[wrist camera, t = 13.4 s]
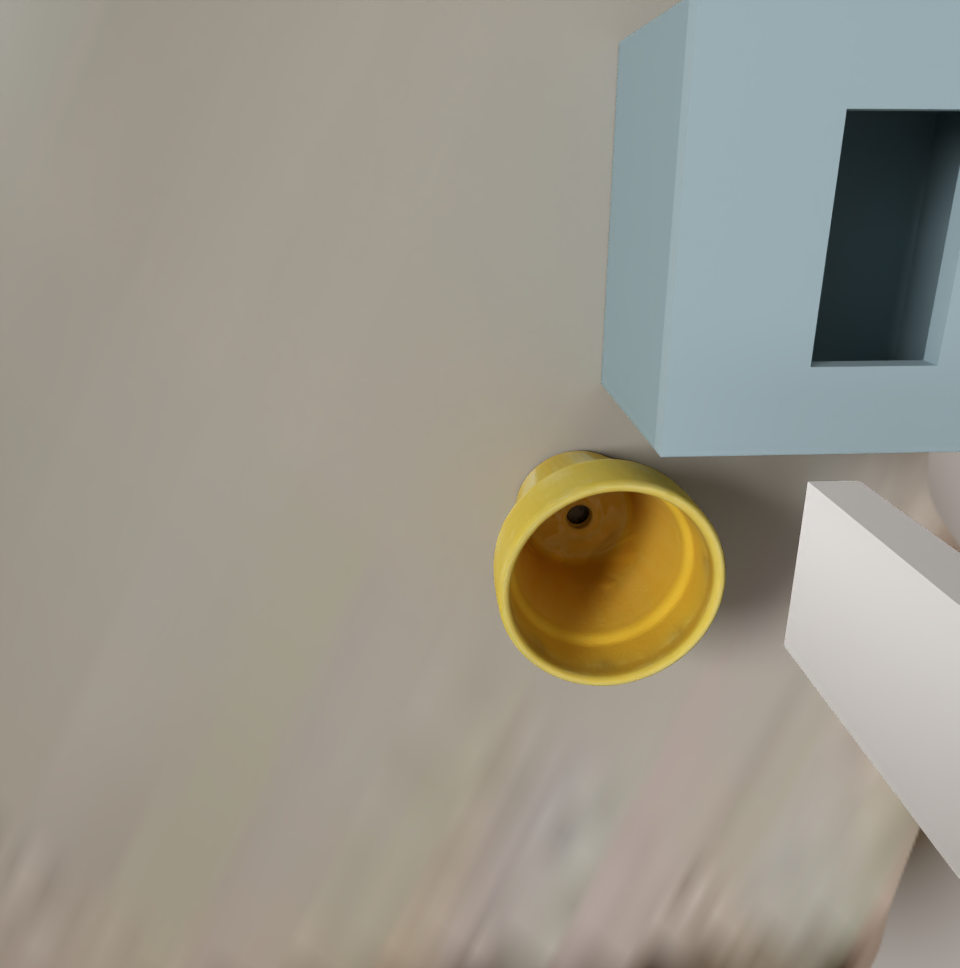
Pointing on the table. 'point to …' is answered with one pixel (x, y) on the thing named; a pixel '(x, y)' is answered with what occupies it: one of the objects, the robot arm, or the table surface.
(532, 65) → the table surface
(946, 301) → the box
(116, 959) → the table surface
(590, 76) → the table surface
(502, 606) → the plant pot
